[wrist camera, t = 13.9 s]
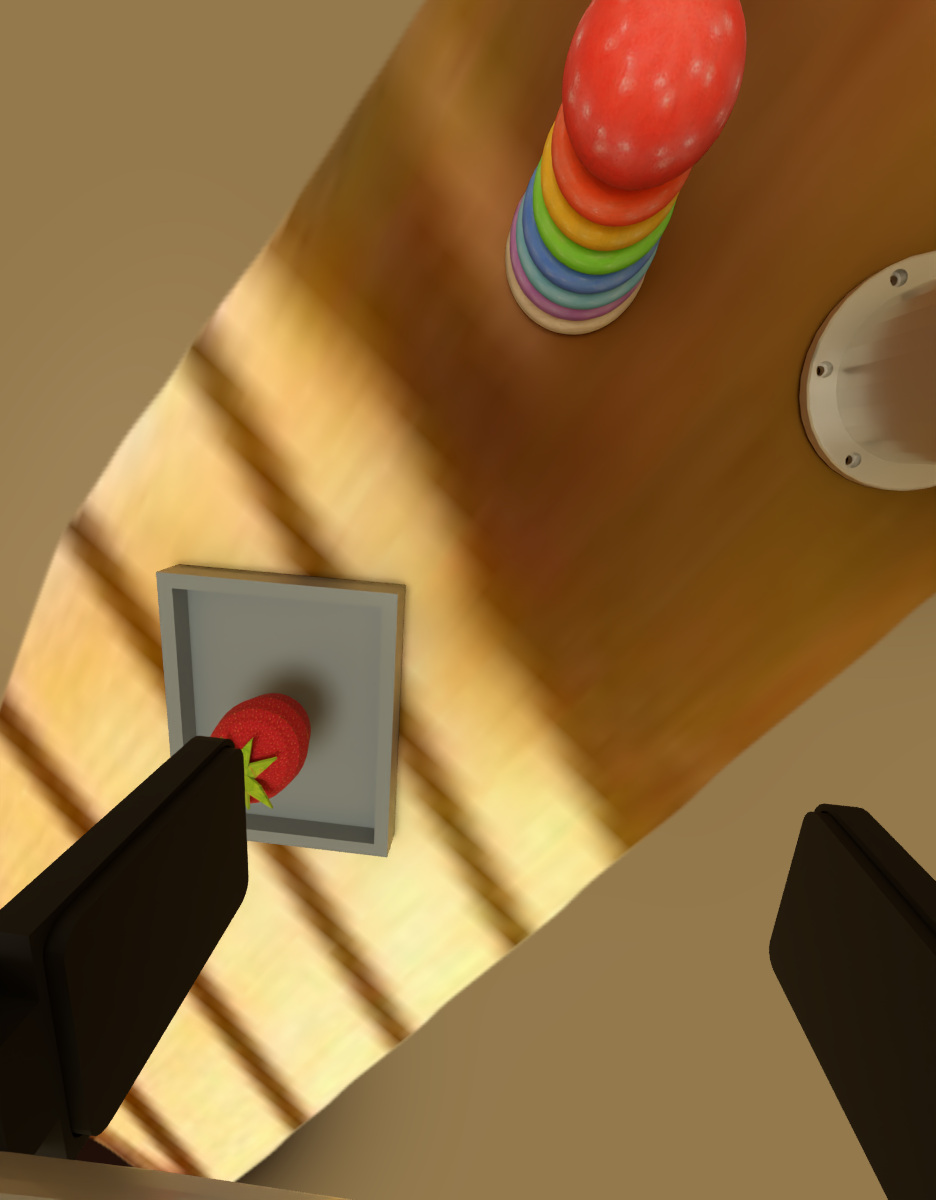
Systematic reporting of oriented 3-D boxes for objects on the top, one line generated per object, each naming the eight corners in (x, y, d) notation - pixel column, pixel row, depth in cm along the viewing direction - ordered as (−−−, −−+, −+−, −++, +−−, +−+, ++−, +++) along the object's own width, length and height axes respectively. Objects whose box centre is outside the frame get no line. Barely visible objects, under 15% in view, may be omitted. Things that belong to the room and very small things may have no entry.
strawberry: (352, 695, 39) (301, 775, 30) (298, 769, 41) (233, 866, 32) (283, 647, 39) (207, 713, 29) (231, 724, 41) (144, 809, 31)
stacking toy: (533, 359, 33) (556, 252, 15) (485, 219, 32) (449, -86, 14) (662, 304, 32) (854, 115, 14) (620, 155, 30) (777, -278, 12)
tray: (405, 585, 38) (397, 594, 35) (394, 834, 43) (387, 857, 41) (178, 564, 39) (156, 571, 36) (195, 811, 44) (176, 832, 41)
